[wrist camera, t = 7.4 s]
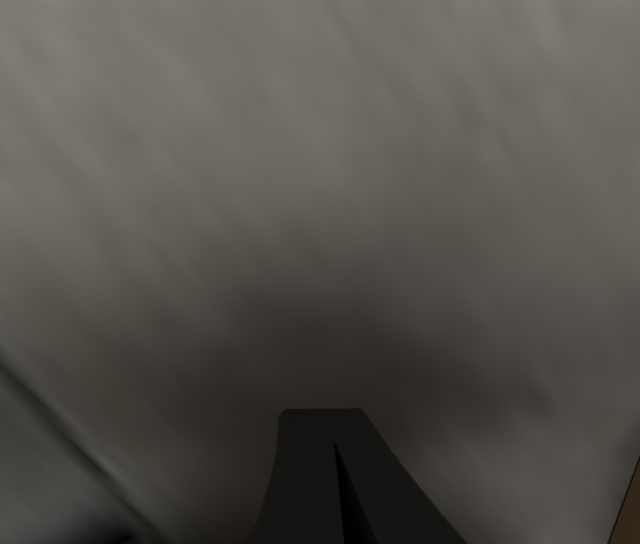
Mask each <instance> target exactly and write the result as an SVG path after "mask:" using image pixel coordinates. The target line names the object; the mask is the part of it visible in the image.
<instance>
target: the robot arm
mask: <svg viewBox="0 0 640 544" xmlns="http://www.w3.org/2000/svg"><path fill="white" fill-rule="evenodd" d="M249 544H468V543H467V542H466V541H465V540H464V539H463V538H462V537H461V536H460V534H459V533H458V532H457V531H456V530H455V529H454V528H453V527H452V525H451V524H450V523H449V522H448V521H447V520H446V518H445V517H444V516H443V515H442V514H441V513H440V511H439V510H438V509H437V508H436V507H435V505H434V504H433V503H432V502H431V500H430V499H429V498H428V497H427V496H426V494H425V493H424V492H423V491H422V489H421V488H420V487H419V486H418V484H417V483H416V482H415V481H414V480H413V478H412V477H411V476H410V474H409V473H408V472H407V470H406V469H405V468H404V467H403V465H402V464H401V463H400V461H399V460H398V459H397V457H396V456H395V455H394V453H393V452H392V450H391V449H390V448H389V446H388V445H387V444H386V442H385V441H384V439H383V438H382V437H381V435H380V434H379V432H378V431H377V429H376V428H375V427H374V425H373V424H372V422H371V421H370V419H369V418H368V416H367V415H366V414H365V413H364V412H363V411H362V410H361V409H360V408H349V409H286V410H285V411H283V412H282V413H281V414H280V415H279V420H278V439H277V452H276V457H275V462H274V466H273V471H272V474H271V478H270V481H269V485H268V488H267V492H266V495H265V499H264V502H263V506H262V509H261V512H260V515H259V518H258V521H257V523H256V526H255V529H254V531H253V534H252V537H251V539H250V542H249Z"/></svg>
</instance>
